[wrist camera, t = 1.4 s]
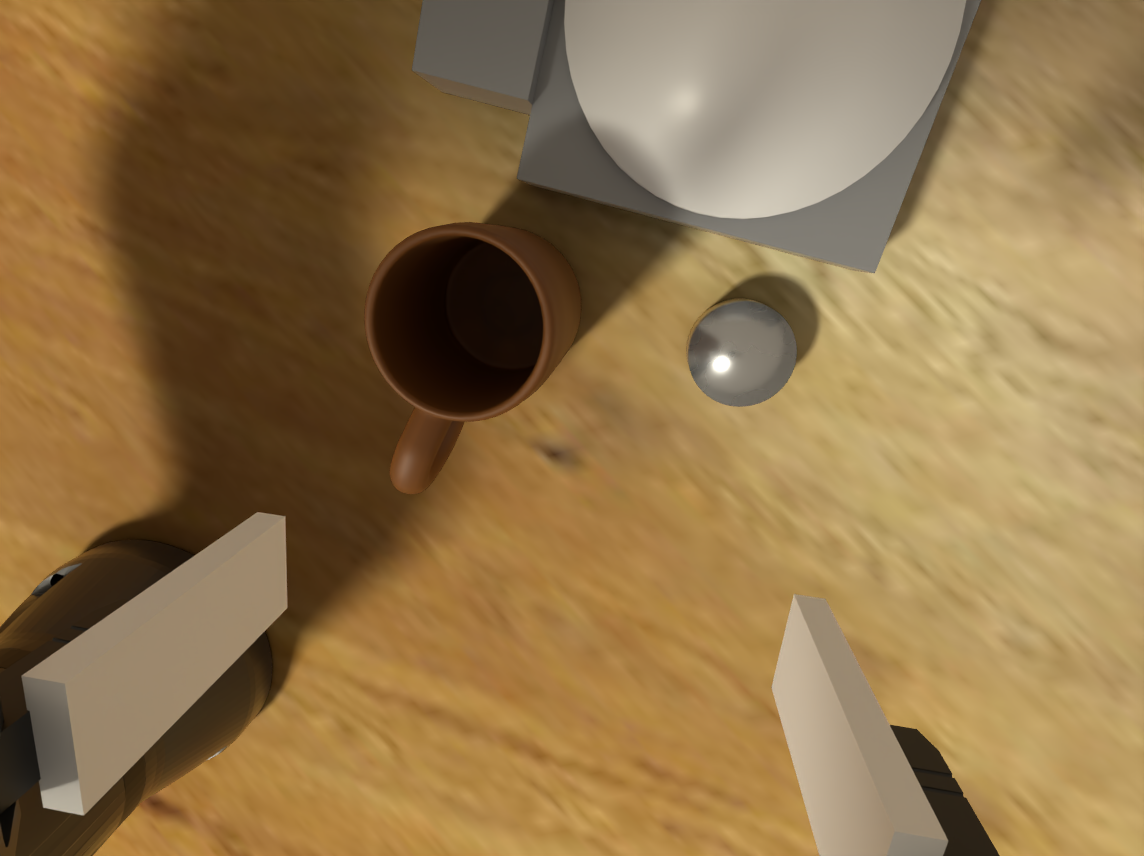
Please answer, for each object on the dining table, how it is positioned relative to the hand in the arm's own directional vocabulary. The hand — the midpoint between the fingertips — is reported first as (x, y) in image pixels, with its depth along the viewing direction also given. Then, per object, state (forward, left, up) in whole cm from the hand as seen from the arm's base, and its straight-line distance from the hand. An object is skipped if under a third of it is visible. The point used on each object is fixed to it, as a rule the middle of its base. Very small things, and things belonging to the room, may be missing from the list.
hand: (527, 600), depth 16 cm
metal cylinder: (+6, +5, -19) cm, 20 cm away
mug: (-6, +2, -19) cm, 20 cm away
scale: (-1, +18, -18) cm, 26 cm away
